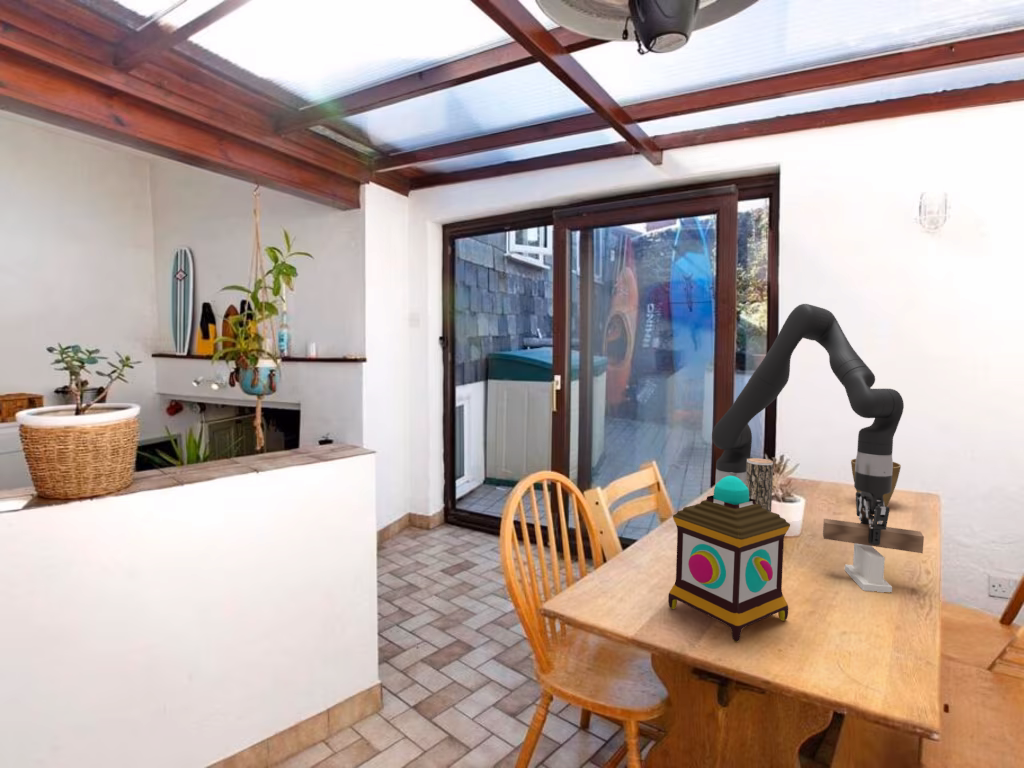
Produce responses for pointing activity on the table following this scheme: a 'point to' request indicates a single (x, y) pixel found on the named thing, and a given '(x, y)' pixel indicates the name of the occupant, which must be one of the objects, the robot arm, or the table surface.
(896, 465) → the plant pot
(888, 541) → the walnut bar
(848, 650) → the table surface
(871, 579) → the white pedestal block
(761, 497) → the log stump
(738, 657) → the table surface
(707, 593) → the decorative lantern
